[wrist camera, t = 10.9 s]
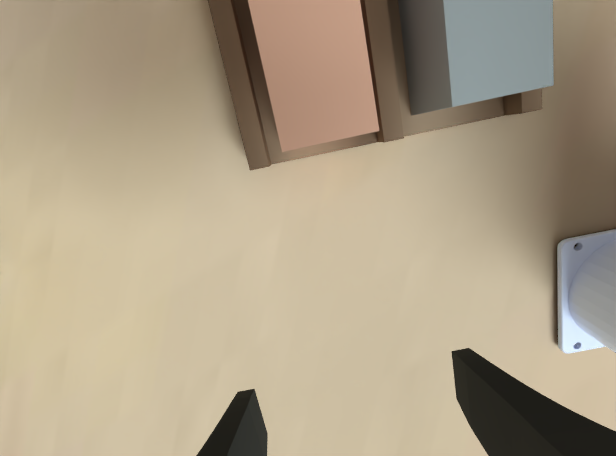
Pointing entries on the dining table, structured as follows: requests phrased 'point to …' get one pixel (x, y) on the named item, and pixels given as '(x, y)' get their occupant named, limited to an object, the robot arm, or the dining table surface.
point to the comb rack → (385, 79)
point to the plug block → (315, 69)
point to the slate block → (474, 50)
